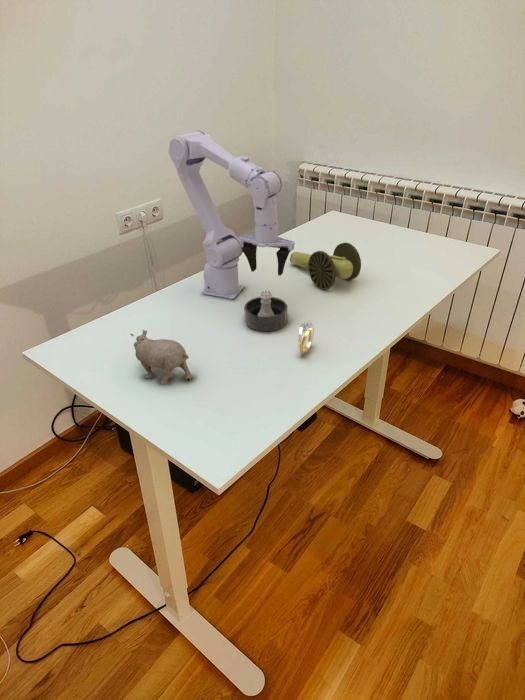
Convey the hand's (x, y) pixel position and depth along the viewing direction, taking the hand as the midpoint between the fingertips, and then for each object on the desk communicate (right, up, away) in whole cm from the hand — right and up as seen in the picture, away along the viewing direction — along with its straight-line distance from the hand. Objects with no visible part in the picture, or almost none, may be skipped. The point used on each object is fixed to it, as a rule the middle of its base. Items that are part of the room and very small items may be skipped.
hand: (267, 272), depth 133 cm
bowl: (0, -13, -1) cm, 13 cm away
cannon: (+17, +2, +21) cm, 27 cm away
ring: (+9, -21, -13) cm, 27 cm away
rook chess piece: (0, -13, -1) cm, 13 cm away
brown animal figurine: (-25, -26, -19) cm, 40 cm away
